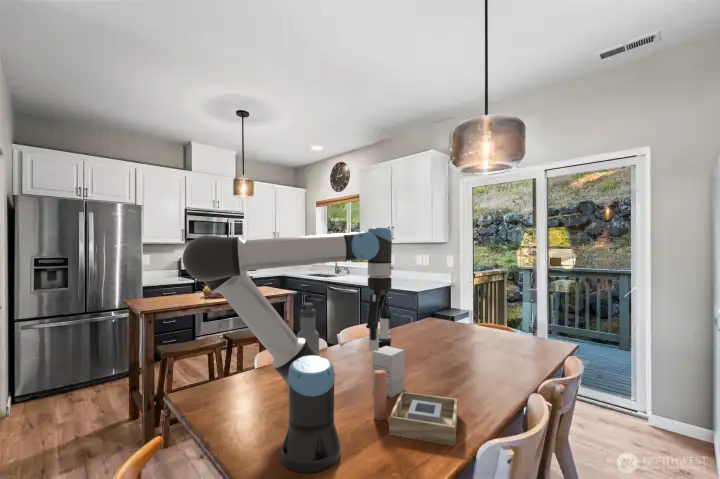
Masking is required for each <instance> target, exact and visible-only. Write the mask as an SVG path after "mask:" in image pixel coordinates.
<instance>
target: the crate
mask: <svg viewBox="0 0 720 479" xmlns="http://www.w3.org/2000/svg"><path fill="white" fill-rule="evenodd" d="M412 400H419V401H426V402H433V403H441V404H442V419H441V424H440V423H434V422H427V421H421V420H414V419H408V411H409V408H410V406H411V403H412ZM391 410H392V411H391V413H390V414H389V419H388V426H389V427H388V428H389V430H388V435H389V436H393V435H397V436H396V437H399V436H402V437H401V438H405V437H407V438H406V439H411V438H412V439H411V440H416V439H417V440H418V441H423V442H428V443H435V444H440V445H445V446H446V445H447V446H452V447H455V446H456V439H457V438H456V437H457V424H458V398H455V397H446V396H438V395H431V394H430V395H429V394H422V393H415V392H407V391H402V392H400V393H399V396H398V398H397V400H396V402H395V404H394V407H393V408H392V409H391Z"/></svg>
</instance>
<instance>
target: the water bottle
mask: <svg viewBox="0 0 720 479" xmlns="http://www.w3.org/2000/svg"><path fill="white" fill-rule="evenodd" d="M313 307H314V304H313V303H312V302H303V303H302V305H301V310H300V311H299V314H300V315H299V319H298V326H299V328H300V330H299V331H298V332H297V334H296V337H298V338H304V339H305V340H306V341H307V342H308V343H309V345H310V346H311V347H312V348H313V349H314V350H315V351H316V352H317V353H318V354H319V355H320V334H319V332H318V331H317V329H316V317H317V310H316V309H315V308H313Z"/></svg>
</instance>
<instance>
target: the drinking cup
mask: <svg viewBox="0 0 720 479" xmlns="http://www.w3.org/2000/svg"><path fill="white" fill-rule="evenodd" d="M391 344H392V338H391V337H390V338H389V337H388V339H380V336H379V348H382V347H384V346H389V347H392V346H391Z"/></svg>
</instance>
